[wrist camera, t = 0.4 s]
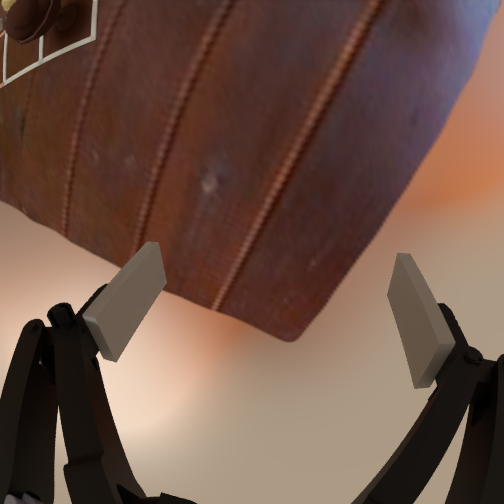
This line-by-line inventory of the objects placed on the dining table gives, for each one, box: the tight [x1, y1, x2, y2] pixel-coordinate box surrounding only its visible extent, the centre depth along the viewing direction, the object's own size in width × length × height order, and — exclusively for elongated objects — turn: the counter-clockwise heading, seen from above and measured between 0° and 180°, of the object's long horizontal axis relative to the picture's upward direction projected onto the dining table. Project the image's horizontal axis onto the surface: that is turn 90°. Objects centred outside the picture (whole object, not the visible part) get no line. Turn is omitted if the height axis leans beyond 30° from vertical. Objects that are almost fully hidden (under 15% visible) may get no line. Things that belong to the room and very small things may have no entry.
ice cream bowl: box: [5, 0, 78, 45], centre depth 23 cm, size 11×11×15 cm
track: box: [0, 0, 98, 89], centre depth 32 cm, size 15×43×1 cm, turn 91°
